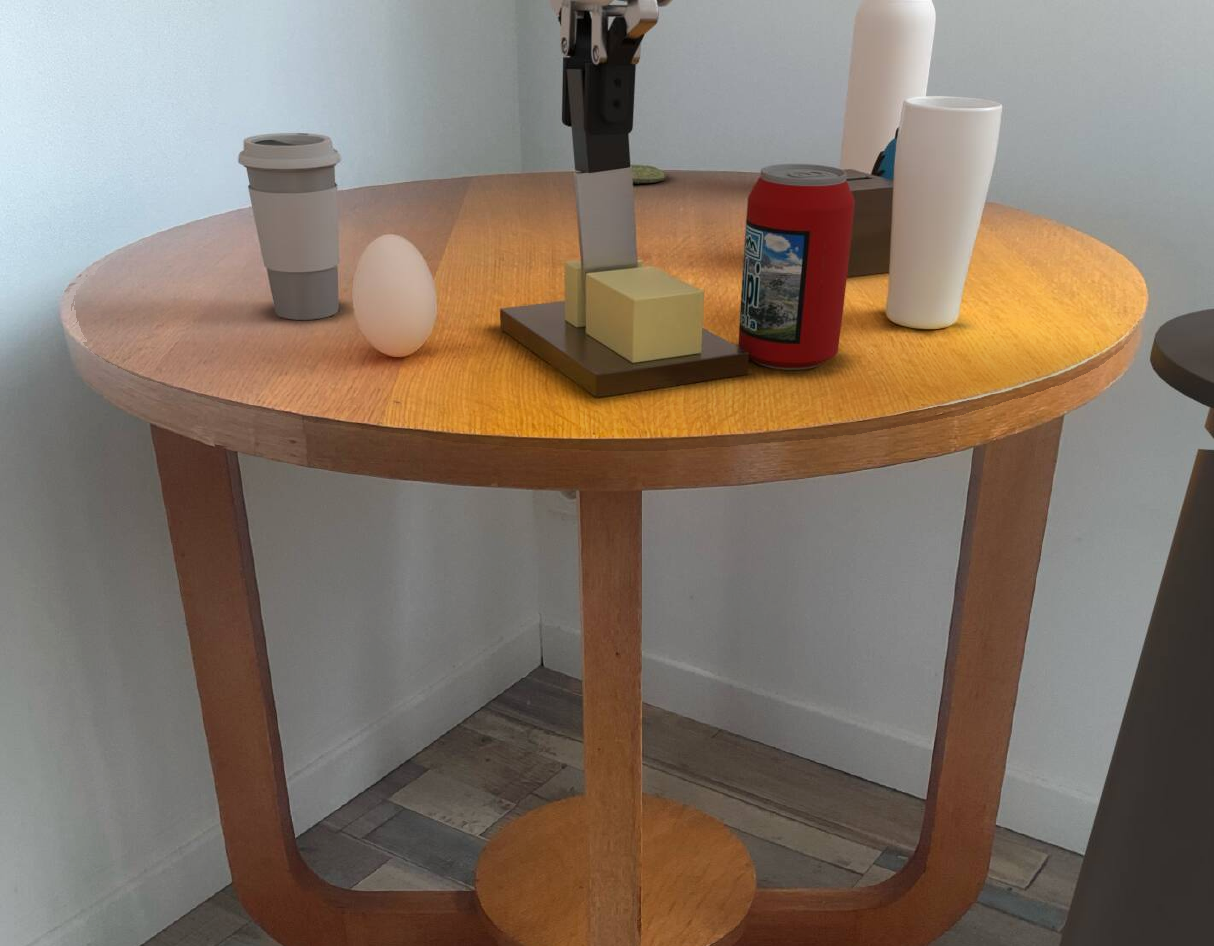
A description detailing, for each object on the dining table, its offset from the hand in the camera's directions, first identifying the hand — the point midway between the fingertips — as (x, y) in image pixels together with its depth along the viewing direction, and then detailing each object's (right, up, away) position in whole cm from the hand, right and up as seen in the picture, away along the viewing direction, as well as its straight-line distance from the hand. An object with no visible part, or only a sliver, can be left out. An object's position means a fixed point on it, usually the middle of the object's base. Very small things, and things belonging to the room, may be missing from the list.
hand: (596, 126), depth 77 cm
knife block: (+20, 0, +27) cm, 34 cm away
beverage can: (+13, -14, +5) cm, 20 cm away
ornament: (+26, +4, +35) cm, 44 cm away
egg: (-13, -14, +5) cm, 20 cm away
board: (+1, -13, +6) cm, 14 cm away
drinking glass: (+24, -9, +13) cm, 29 cm away
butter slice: (0, -10, +7) cm, 13 cm away
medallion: (+3, +20, +61) cm, 64 cm away
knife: (+1, -11, +6) cm, 12 cm away
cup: (-22, -8, +13) cm, 27 cm away
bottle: (+30, +16, +54) cm, 64 cm away
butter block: (+3, -13, +3) cm, 14 cm away
